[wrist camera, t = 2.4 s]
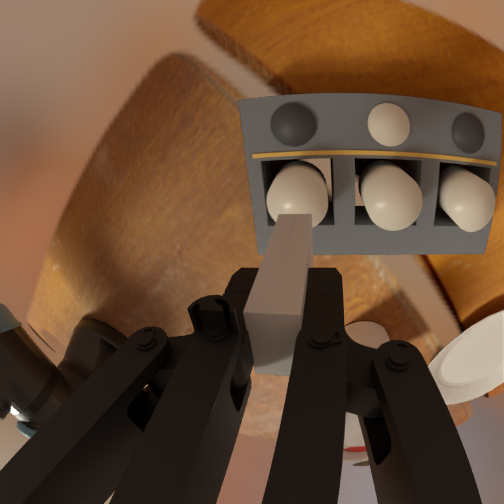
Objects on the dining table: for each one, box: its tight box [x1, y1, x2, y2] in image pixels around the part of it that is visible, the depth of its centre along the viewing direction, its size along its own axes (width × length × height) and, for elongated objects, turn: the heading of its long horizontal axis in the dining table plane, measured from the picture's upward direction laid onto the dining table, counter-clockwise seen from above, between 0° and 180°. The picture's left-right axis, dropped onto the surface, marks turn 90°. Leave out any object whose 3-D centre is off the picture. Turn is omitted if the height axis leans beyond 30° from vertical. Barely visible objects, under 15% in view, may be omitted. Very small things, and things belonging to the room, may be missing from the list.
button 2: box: [358, 161, 423, 231], centre depth 18 cm, size 4×4×4 cm
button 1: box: [267, 161, 328, 228], centre depth 20 cm, size 4×4×4 cm
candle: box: [343, 446, 368, 461], centre depth 38 cm, size 9×9×6 cm
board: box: [238, 93, 502, 255], centre depth 19 cm, size 20×12×4 cm, turn 97°
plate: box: [428, 310, 504, 405], centre depth 28 cm, size 21×21×2 cm
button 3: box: [437, 165, 495, 232], centre depth 17 cm, size 4×4×4 cm
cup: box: [344, 321, 390, 447], centre depth 26 cm, size 9×9×12 cm
